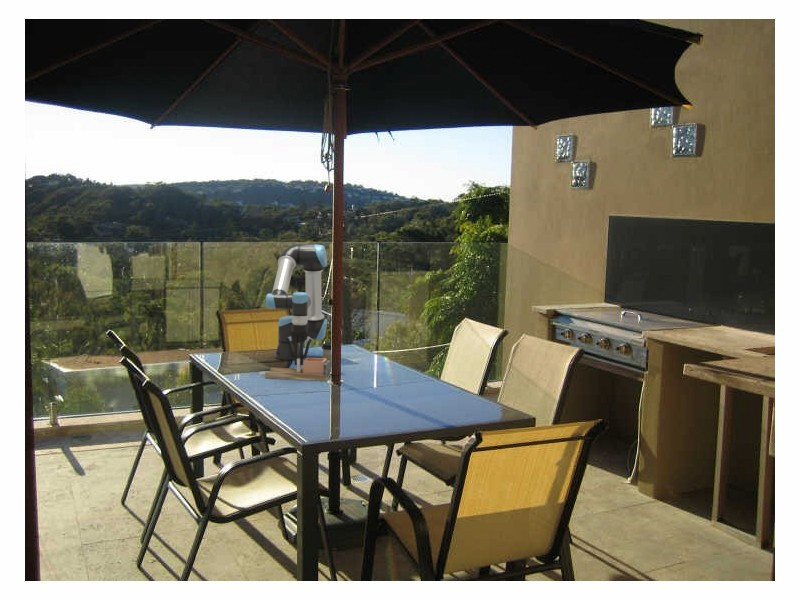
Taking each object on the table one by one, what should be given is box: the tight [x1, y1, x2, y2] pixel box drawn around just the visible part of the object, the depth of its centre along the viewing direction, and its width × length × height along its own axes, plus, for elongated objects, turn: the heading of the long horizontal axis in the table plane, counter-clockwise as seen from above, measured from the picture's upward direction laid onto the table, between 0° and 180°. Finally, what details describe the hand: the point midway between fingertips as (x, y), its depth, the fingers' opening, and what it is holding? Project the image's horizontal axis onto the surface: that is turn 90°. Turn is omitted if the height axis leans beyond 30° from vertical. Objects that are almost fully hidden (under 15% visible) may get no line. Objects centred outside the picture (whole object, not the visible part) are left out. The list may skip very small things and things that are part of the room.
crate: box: [302, 357, 327, 375], centre depth 405 cm, size 9×10×8 cm
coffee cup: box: [321, 342, 332, 372], centre depth 418 cm, size 9×9×15 cm
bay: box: [264, 360, 331, 382], centre depth 406 cm, size 12×30×8 cm, turn 85°
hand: (298, 371), depth 406 cm, fingers closed
